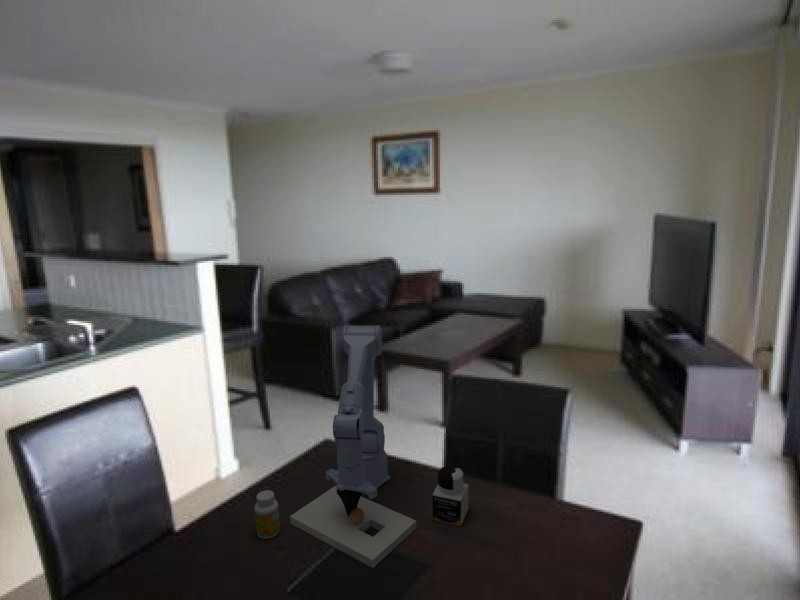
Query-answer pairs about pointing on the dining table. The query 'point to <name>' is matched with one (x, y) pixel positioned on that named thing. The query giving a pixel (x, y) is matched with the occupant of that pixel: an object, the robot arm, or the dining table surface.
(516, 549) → the dining table surface
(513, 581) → the dining table surface
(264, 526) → the supplement bottle
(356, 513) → the ball
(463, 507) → the medicine bottle
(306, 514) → the white flat board
